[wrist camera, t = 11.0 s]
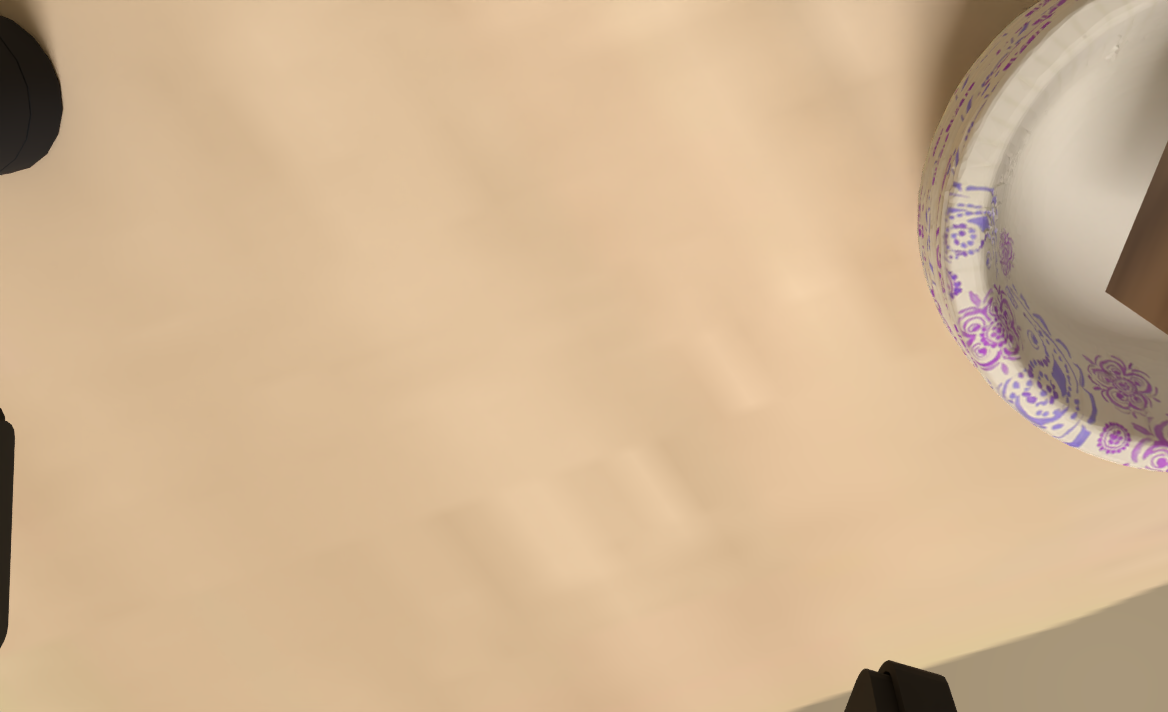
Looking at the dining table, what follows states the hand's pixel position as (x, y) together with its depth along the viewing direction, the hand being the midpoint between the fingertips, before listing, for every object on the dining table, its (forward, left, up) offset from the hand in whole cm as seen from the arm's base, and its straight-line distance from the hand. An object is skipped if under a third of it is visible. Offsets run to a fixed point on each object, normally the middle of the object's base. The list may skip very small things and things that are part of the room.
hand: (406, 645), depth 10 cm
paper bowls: (-5, +16, -29) cm, 33 cm away
